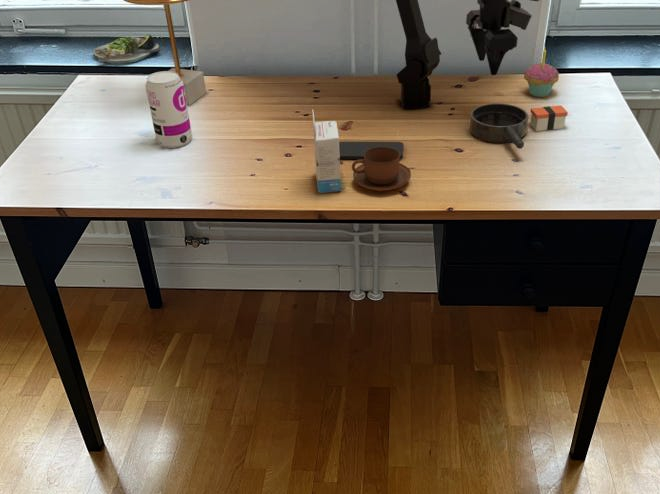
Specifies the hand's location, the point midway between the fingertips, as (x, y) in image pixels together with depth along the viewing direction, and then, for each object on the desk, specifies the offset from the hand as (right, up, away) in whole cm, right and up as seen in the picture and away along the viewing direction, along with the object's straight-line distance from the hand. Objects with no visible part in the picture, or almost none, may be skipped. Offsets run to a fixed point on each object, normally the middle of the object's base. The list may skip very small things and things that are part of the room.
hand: (487, 67), depth 177 cm
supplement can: (-72, -16, +3) cm, 74 cm away
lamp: (-75, +1, +22) cm, 78 cm away
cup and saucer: (-25, -30, -15) cm, 42 cm away
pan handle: (+4, -19, -8) cm, 21 cm away
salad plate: (-96, +22, +48) cm, 109 cm away
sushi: (+14, -12, +3) cm, 19 cm away
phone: (-27, -21, -4) cm, 34 cm away
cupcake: (+16, 0, +18) cm, 24 cm away
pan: (+3, -14, +2) cm, 14 cm away
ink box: (-36, -30, -15) cm, 49 cm away
